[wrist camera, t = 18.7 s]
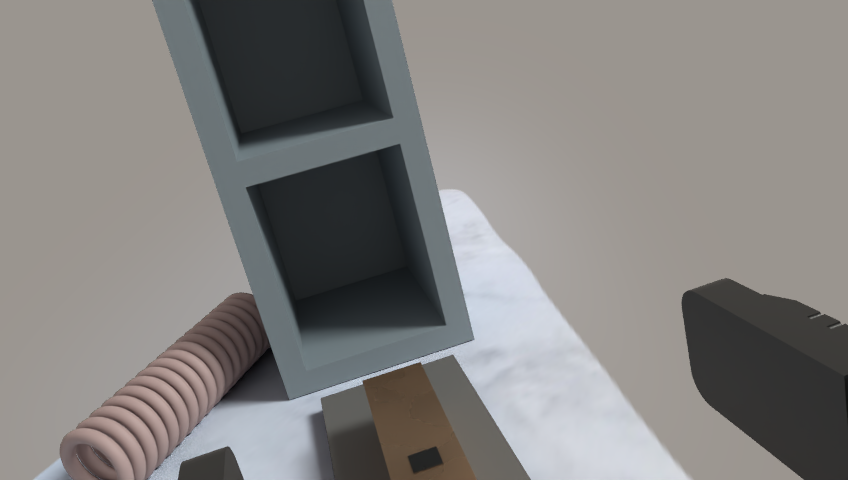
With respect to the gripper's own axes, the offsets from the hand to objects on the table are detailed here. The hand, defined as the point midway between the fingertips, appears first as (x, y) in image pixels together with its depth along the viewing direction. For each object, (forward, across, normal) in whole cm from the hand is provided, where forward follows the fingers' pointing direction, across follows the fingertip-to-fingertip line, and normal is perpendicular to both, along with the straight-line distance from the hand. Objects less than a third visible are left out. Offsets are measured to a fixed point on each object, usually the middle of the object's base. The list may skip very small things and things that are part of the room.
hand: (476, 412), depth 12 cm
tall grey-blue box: (+37, 0, +14) cm, 40 cm away
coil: (+33, +12, +14) cm, 38 cm away
